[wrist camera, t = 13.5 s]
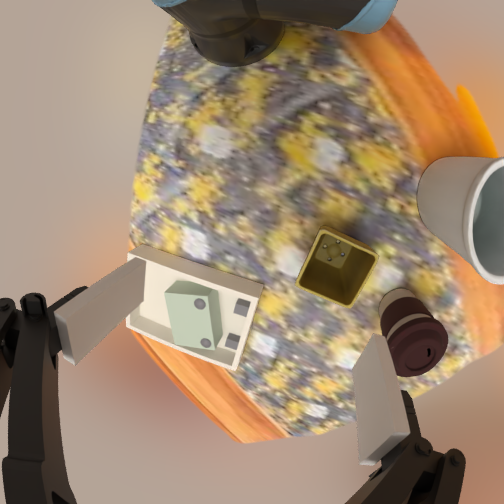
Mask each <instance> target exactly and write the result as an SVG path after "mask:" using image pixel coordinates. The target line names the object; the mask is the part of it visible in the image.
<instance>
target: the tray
mask: <svg viewBox="0 0 504 504" xmlns="http://www.w3.org/2000/svg"><path fill="white" fill-rule="evenodd" d="M135 257H137V258H140V259H143V260H145V261H146V273H145V288H144V301H143V302H142V303H141V304H140V305H139V306H138V307H137V308H136V309H135V310H133V311H132V312H131V313H130V314H129V315H128V316H127V317H126V327H128V328H130V329H132V330H134V331H136V332H138V333H140V334H143V335H145V336H147V337H149V338H151V339H154V340H156V341H158V342H160V343H163V344H165V345H167V346H170V347H172V348H175V349H177V350H180V351H182V352H184V353H187V354H190V355H192V356H195V357H197V358H200V359H203V360H205V361H208V362H211V363H213V364H216V365H219V366H222V367H225V368H228V369H230V370H233V371H236V369H237V367H238V364H239V362H240V359H241V356H242V353H243V350H244V347H245V344H246V341H247V338H248V335H249V331H250V328H251V325H252V322H253V319H254V315H255V312H256V309H257V306H258V302H259V299H260V296H261V293H262V289H263V286H264V284H260V283H257V282H254V281H251V280H248V279H245V278H242V277H239V276H236V275H233V274H229V273H226V272H223V271H220V270H217V269H214V268H211V267H208V266H205V265H202V264H199V263H196V262H193V261H190V260H187V259H185V258H182V257H179V256H176V255H173V254H170V253H167V252H164V251H161V250H158V249H156V248H153V247H150V246H147V245H144V244H141V245H140V246H138V247H136V248H134V249H133V250H131V251H129V252H128V257H127V262H128V261H130V260H131V259H133V258H135ZM176 280H177V281H191V282H195V283H197V284H200V285H203V286H206V287H209V288H212V289H215V290H218V294H219V304H220V313H221V322H222V330H223V336H222V338H221V340H220V342H219V344H218V346H217V347H216V349H215V350H208V349H201V348H195V347H188V346H182V345H176V344H175V342H174V338H173V334H172V329H171V325H170V320H169V315H168V310H167V305H166V300H165V295H164V292H165V291H166V290H167V289H168V288H169V287H170V286H171V285H172V284H173V283H174V282H175V281H176Z"/></svg>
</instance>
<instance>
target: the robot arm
mask: <svg viewBox="0 0 504 504" xmlns="http://www.w3.org/2000/svg"><path fill="white" fill-rule="evenodd" d="M152 1H153V2H154V4H155V5H157V6H159V7H160V8H162V9H163V10H165V11H166V12H167V13H168V14H170V15H171V16H172V17H174V18H175V19H176V20H178V21H179V22H180V23H181V24H183V25H184V26H185V27H186V28H188V30H189V35H190V39H191V42H192V44H193V46H194V48H195V49H196V50H197V51H198V53H200V54H201V55H202V56H203V57H204V58H206V59H207V60H208V61H210V62H212V63H215V64H217V65H221V66H228V67H237V66H244V65H248V64H252V63H254V62H257V61H259V60H261V59H263V58H264V57H266V56H267V55H269V54H270V53H271V52H272V51H273V50H274V49H275V48H276V47H277V46H278V44H279V43H280V41H281V39H282V37H283V33H284V21H289V22H298V23H306V24H313V25H319V26H325V27H331V28H332V29H334V30H337V31H342V30H346V31H351V32H356V33H361V34H370V33H373V32H377V31H378V30H380V29H381V28H382V27H383V26H384V25H385V24H386V22H387V21H388V19H389V18H390V16H391V14H392V12H393V10H394V8H395V6H396V3H397V1H398V0H152ZM145 273H146V261H145V260H143V259H140V258H137V257H135V258H133V259H131V260H130V261H128V262H127V263H125V264H124V265H122V266H121V267H119V268H117V269H116V270H115V271H113V272H111V273H110V274H108V275H107V276H105V277H104V278H102V279H101V280H99V281H98V282H96V283H95V284H93V285H92V286H90V287H87V286H83V287H80V288H76V289H75V290H73V291H72V292H70V293H69V294H67V295H66V296H64V298H61V299H60V300H58V301H57V302H55V303H54V304H53V305H51V306H50V307H48V308H47V305H46V299H45V297H44V296H43V295H41V294H40V293H29V294H26V295H25V296H23V297H22V298H21V300H20V304H21V308H22V311H21V310H18V309H16V306H15V302H14V301H13V300H12V299H10V298H1V299H0V417H1V414H2V410H3V407H4V404H5V401H6V398H7V395H8V392H9V390H10V400H9V416H8V450H9V451H8V456H7V457H5V458H4V459H3V461H2V474H3V483H4V492H5V499H6V504H77V503H76V499H75V497H74V494H73V492H72V490H71V488H70V485H69V482H68V477H67V472H66V467H65V460H64V454H63V447H62V438H61V429H60V417H59V400H58V354H57V353H58V352H59V351H60V350H62V352H63V355H64V358H65V359H66V360H68V361H69V362H71V363H72V364H74V365H75V366H76V365H77V364H78V363H79V362H80V361H81V360H82V359H83V358H84V357H85V356H86V355H87V354H88V353H89V352H90V351H91V350H92V349H93V348H94V347H95V346H96V345H97V344H98V343H99V342H100V341H102V339H104V338H105V337H106V336H107V335H108V334H109V333H110V332H111V331H112V330H113V329H114V328H115V327H116V326H117V325H118V324H119V323H120V322H122V321H123V320H124V319H125V318H126V317H127V316H128V315H129V314H130V313H131V312H132V311H133V310H135V309H136V308H137V307H138V306H139V305H140V304H141V303H142V302H143V301H144V288H145ZM2 340H3V341H2ZM352 372H353V381H354V391H355V403H356V416H357V431H358V453H359V464H360V465H375V464H376V463H377V462H378V461H379V460H381V464H382V466H381V467H380V468H379V469H377V470H376V471H375V472H373V473H372V474H371V475H370V476H369V477H370V478H369V480H368V481H367V482H366V483H365V484H364V485H363V486H362V487H361V488H360V489H359V490H358V491H357V492H356V493H355V494H354V495H353V496H352V497H351V498H350V499H349V500H348V501H347V502H346V503H345V504H458V502H459V497H460V493H461V488H462V483H463V477H464V471H465V464H466V461H465V457H464V455H463V453H462V452H461V451H459V450H458V449H450V450H449V451H448V452H447V453H445V454H442V453H439V452H436V451H433V447H432V445H431V443H430V442H429V441H428V440H426V439H425V438H423V437H421V433H420V428H419V424H418V420H417V416H416V415H415V414H416V412H415V409H414V405H413V401H412V398H411V397H410V395H409V394H408V392H407V391H404V390H400V386H399V382H398V379H397V375H396V371H395V368H394V364H393V361H392V358H391V354H390V351H389V348H388V344H387V341H386V338H385V336H381V335H377V334H374V333H373V335H372V337H371V338H370V340H369V342H368V344H367V345H366V347H365V349H364V351H363V352H362V354H361V356H360V357H359V359H358V361H357V362H356V364H355V365H354V367H353V369H352ZM10 387H11V388H10Z"/></svg>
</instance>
